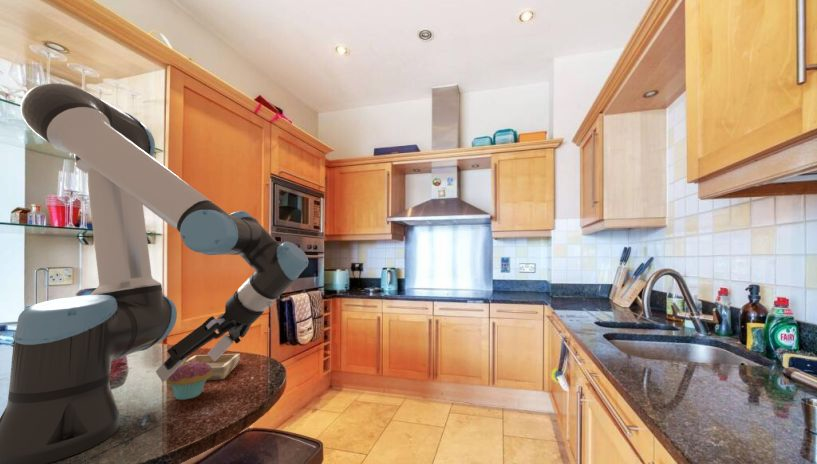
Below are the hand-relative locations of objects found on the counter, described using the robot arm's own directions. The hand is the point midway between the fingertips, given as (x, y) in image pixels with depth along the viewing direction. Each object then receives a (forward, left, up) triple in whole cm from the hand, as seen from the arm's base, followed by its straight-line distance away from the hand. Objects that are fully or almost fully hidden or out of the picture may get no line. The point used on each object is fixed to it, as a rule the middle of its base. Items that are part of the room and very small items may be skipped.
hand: (188, 365), depth 73 cm
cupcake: (0, 0, -6) cm, 7 cm away
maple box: (+15, +2, -6) cm, 16 cm away
